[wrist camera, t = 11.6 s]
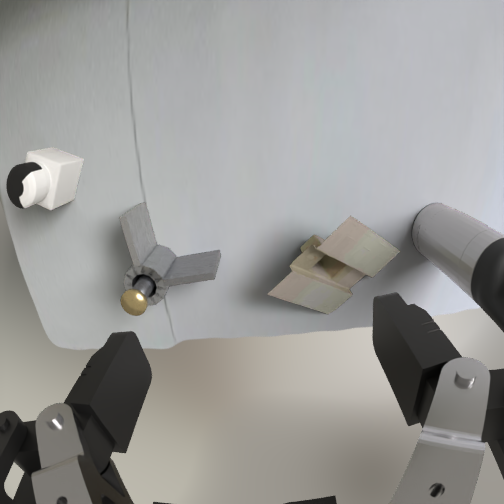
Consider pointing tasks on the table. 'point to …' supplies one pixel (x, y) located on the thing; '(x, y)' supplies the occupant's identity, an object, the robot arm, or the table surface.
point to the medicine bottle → (45, 179)
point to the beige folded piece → (334, 266)
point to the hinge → (161, 257)
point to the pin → (138, 296)
